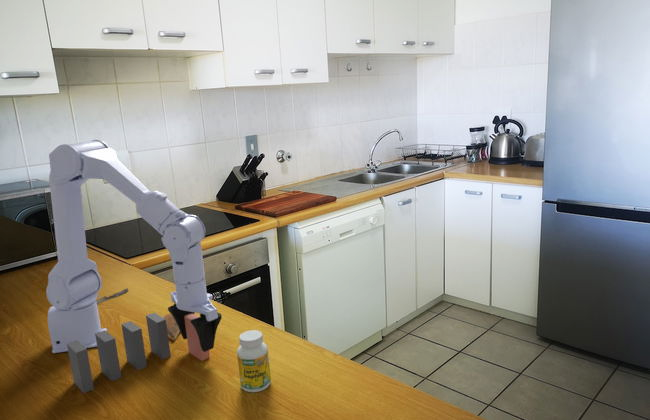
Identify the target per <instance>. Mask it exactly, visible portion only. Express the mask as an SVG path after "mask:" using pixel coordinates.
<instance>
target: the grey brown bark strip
mask: <svg viewBox="0 0 650 420" xmlns="http://www.w3.org/2000/svg"><path fill="white" fill-rule="evenodd" d="M128 292H129V288H127V287H126V288H124V289H123V290H121V291H118V292H115V293H113V294H111V295H109V296H104V295H103V296H101V297H100V298H98V299H96V302H97V306H99V305H101V304H102V303H104V302H106V301H109V300H111V299H113V298H116V297H120V296H122V295H124V294H126V293H128Z"/></svg>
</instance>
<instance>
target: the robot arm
mask: <svg viewBox="0 0 650 420" xmlns="http://www.w3.org/2000/svg"><path fill="white" fill-rule="evenodd" d="M48 159H49V165H50V172H49V178H48V179H49V180H48V181H49V190H50V199H51V207H52V208H51V209H52V217H53V226H54V234H55V243H56V244H55V245H56V253H57V263H56V264H55V265H54V267H52V269H51V270H50V272H49V273H48V275H47V278H48V279H47V281H48V283H47V286H46V289H45V290H46V291H45V292H46V294H45V295H46V298H47V300H48V302H49V303H50V304H51V306H50V307H49V309H48V311H47V326H48V332H49V338H50V342H51V346H52V350H51V353H52V354H57V353H64V352H68V348H67V343H70V342H73V341H76V340H78V341H79V342H80V343H81V344H82V345H83V346H84V347H85V348H86V349H89V348H90V349H91V348H96V347H97V342H96V337H95V333H98V332H101V331H104V330H105V331H106V332H107V331H108V330H107V328H105V327H104V328H102V325H101V321H100V313H99V309H98V305H97V302H96V300H97V298H98V297H99V294H98V293H99V292H100V291H101V289H102V285H103V281H102V277H101V275H100V273H99V271H98V265H97V263H96V262H95V261H94V260H92V259H89V258H88V249H87V248H88V247H87V240H86V239H87V237H86V230H85V219H84V206H83V198H82V197H83V195H82V188H81V187H82V186H83V185H84V184H85V183H86V182H87V181H88V180H90V179H91V180H92V179H95V180H105V182H107V184H110V185H111V186H112V187H113V188H115V189H116V190H117V191H118V192H120V193H121V194H122V195H124V196H125V197H127V198H128V199H129V200H130V201H131V202H133V204H135V210H136V214H138V216H140V217H141V218H142V219H143V220H144V221H145V222H146V223H148V225H150V226H151V227H153V229H154V230H155V231H157V232H158V233H159V234H160V235H162V236H161V242H162V244H163V246H164V248H166V250H167V252H168V255H169V259H171V265H172V274H173V279H174V287H175V291H172V292H170V293H169V294H170V300H171V302H172V303H173V305H171V306H169V307H168V308H167V311H168V312H169V314H171V315H172V316H173V317H174V319H175V321H176V323H177V325H178V327H179V330H180V333H179V334H180V335H181V337H182V339H183V340H187V334H186V326H185V318H184V316H186V315H188V314H191V313H193V314H195V313H197V314H199V317H198V318H196V319H193V320H191V323H192V325H193V326H194V328H195V330H196V332H197V334H198V337H199V341H200V345H201V348H202V350H203V351H204V352H206V351H208V350H209V351H210V350H212V349H214V346H215V341H216V333H217V329H218V326H219V324H220V322H221V320H222V314H221V313H219V312H218V308H216V307H215V306H214V305H213V303H212V301H211V300H212V299H213V294H211V293H208V292H207V291H208V290H207V284H206V282H207V281H206V275H205V274H206V273H205V267H204V257H203V247H202V243H201V242H202V241H203V240H204V239H205V236H206V227H205V225H204V223H203V221H202V220H201V219H200V217H199V216H198V215H194V214H188V213H186V212H184V211H183V210H181V209H180V208H179V207H177V206H176V205H175V204H174V203H173V202H172V201H170V200H169V199H168V195H167V194H165V192H160V191H159V190H149V189H148V188H147V187H146V186H145V185H144V184H143V183H142V182H141V181H140V180H139V179H138V178H137V177H136V176H135V175H134V174H133V173H132V172H131V171H130V170H129V169H128V168H127V167H126V166H125V165H124V164H123V163H122V162H121V161H120V160H119V159H118V156H117V152H116V150H115V149H113V148H111V147H110V146H109V145H108V144H107V143H106V142H105V141H104V140H102V139H93V140H90V141H83V142H76V143H70V144H66V143H65V144H60V145H58V146H57V147H56V148H54V149H52V151H51V152H49V154H48Z"/></svg>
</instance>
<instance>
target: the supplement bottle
mask: <svg viewBox="0 0 650 420" xmlns="http://www.w3.org/2000/svg"><path fill="white" fill-rule="evenodd" d="M238 341H239V346H238V348H237V351H236V356H237V357H236V358H237V362H238V363H237V364H238V365H237V366H238V372H239V381H240V383H239V384H240V387H241V389H242V390H243V391H244V392H248V393H259V392H262V391H264V390H266V389H268V387H269V386H270V385H271V383H272V380H271V378H272V377H271V368H270V367H271V366H270V357H269V348H268V345H267V344H266V343H265V342H264V338H263V332H262V331H260V330H257V329H256V330H255V329H254V330H253V329H252V330H246V331H243V332H242V333H240V335H239V340H238Z"/></svg>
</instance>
